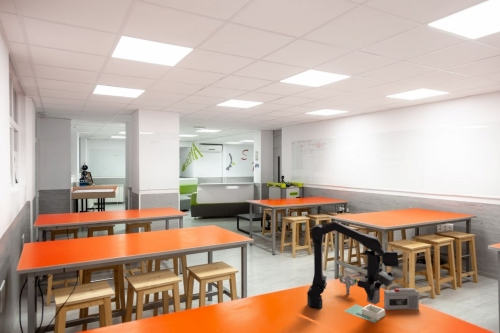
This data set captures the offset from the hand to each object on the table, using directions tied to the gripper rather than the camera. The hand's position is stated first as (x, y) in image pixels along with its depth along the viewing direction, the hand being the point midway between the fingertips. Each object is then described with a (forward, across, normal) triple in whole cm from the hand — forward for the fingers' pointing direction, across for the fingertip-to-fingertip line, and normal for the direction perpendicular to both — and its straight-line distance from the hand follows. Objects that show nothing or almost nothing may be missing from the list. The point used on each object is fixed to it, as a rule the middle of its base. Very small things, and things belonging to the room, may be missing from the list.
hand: (373, 299), depth 146 cm
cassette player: (+8, +17, -6) cm, 19 cm away
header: (+7, 0, 0) cm, 7 cm away
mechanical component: (+8, +12, +20) cm, 25 cm away
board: (+8, -1, +3) cm, 9 cm away
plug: (+1, 0, 0) cm, 1 cm away
